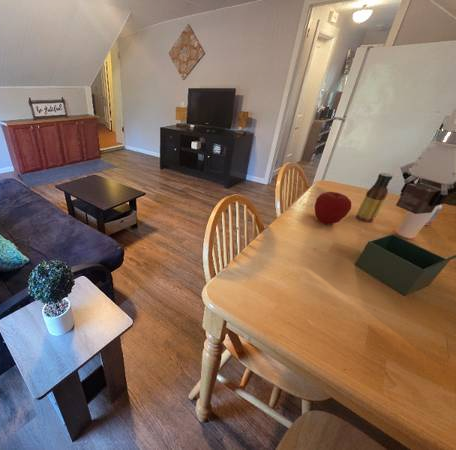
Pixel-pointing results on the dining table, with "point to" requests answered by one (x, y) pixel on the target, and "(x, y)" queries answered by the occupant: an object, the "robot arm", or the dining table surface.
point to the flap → (442, 261)
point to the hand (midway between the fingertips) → (418, 200)
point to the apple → (332, 207)
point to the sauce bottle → (374, 198)
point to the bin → (400, 264)
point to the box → (418, 198)
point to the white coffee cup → (414, 223)
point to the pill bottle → (434, 216)
